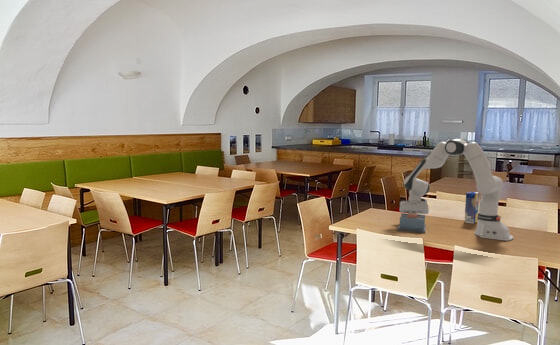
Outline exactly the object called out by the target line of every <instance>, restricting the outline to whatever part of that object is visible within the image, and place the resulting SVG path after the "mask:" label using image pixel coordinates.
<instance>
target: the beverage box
mask: <svg viewBox="0 0 560 345" xmlns="http://www.w3.org/2000/svg"><path fill="white" fill-rule="evenodd" d="M479 202H480V192H479V191H468V192H466V193H465V206H464V207H465V208H464V221H463V222H464V223H466V224H467V223H468V224H476V223H478V220H477V218H478V213H479Z"/></svg>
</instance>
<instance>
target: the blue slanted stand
mask: <svg viewBox="0 0 560 345" xmlns="http://www.w3.org/2000/svg"><path fill="white" fill-rule="evenodd" d="M396 230H397V231H398V232H408V233H417V234H418V233H419V234H426V230H427V224H425V225H424V219H420V218H408V217H401V216H399V224H398V226H397V229H396Z"/></svg>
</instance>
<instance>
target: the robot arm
mask: <svg viewBox="0 0 560 345" xmlns="http://www.w3.org/2000/svg"><path fill="white" fill-rule="evenodd" d="M450 155H451V156H461V155H464V156H465V158H466V160H467V161H468V163H469V166H470V168H471V170H472V172H473V175H474V178H475V182H476V183H475V184H476V185H475V186H476V189H477V192H479V194H481V197H480V199H479V204H478V218H477V225H476V227H475V228H476V229H475V231H474V235H475V236H478V237H480V238H482V239H491V240H496V241H497V240H498V241H512V240H513V239H514V235H512V234H510V229H509V227H508V226H507V225H506V224H504V222H502V221H501V219H502V216H501V215H498V211H499V202H500V197H501V193H502V188H503V186H504V182H503V179H502V178H501V177H500V176H497V175H493V172H492V169H491V166H492V165H491V163H490V162H489V160H488V158H487V155H486V154H485V151H484V150H483V148H482V147H481V146H480V145H479V143H478V142H475V141H472V142H471V141H470V142H468V140H466V139H463V138H454V139H453V138H452V139H449V140H448V141H447V142H446V141H440V142H438V143H437V144H436V145H435V146H434V148H433V150H432V151H431V153H430V154H429V155H427V157H424V158H422V159H421V160H420V161H419V162H418V163H417V164H416V166H415V167H414V168H413V170H412V171H411V172H410V173H409V175H408V176H406V177H405V179H404V181H403V186H404V189H406V190H408V194H409V196H408V200H401V201H399V212H400V213H406V214H408V213H416V214H419V215H428V214H429V210H430V208H429V204H428V200H427V199H425V198H422V197H423V196H425V195H427V194H428V193H429V192H430V187H431V186H430V184H429V182H428V181H425V180H422V179H419V178H417V177H418V176H419V174H420V173H421V172H422V171H423V170H427V169H438V168H439V169H440V168H442V166H444V164H445V163H446V160H447V159H448V157H449V156H450Z"/></svg>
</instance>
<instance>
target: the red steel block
mask: <svg viewBox="0 0 560 345" xmlns="http://www.w3.org/2000/svg"><path fill="white" fill-rule="evenodd" d="M407 214H408V218H417V214H418V213H417V214H416V213H407Z"/></svg>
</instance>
